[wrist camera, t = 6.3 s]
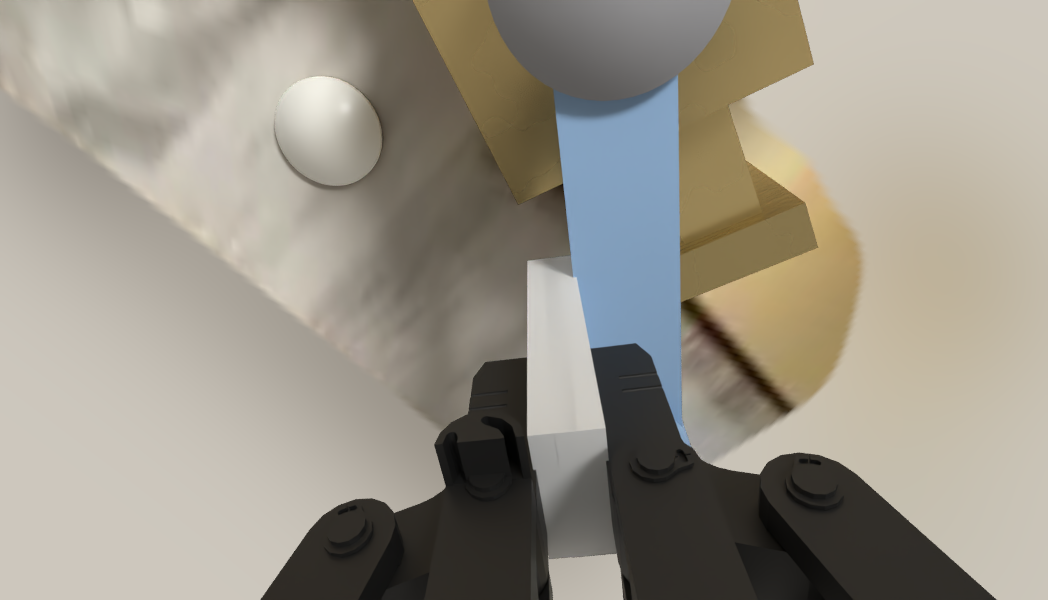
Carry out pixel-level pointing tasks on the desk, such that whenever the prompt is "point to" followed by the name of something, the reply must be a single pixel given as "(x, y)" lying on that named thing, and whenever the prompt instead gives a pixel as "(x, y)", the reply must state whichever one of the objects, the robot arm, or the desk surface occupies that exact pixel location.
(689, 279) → the valve body
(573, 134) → the lever
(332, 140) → the white domed disc
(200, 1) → the desk surface
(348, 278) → the desk surface
